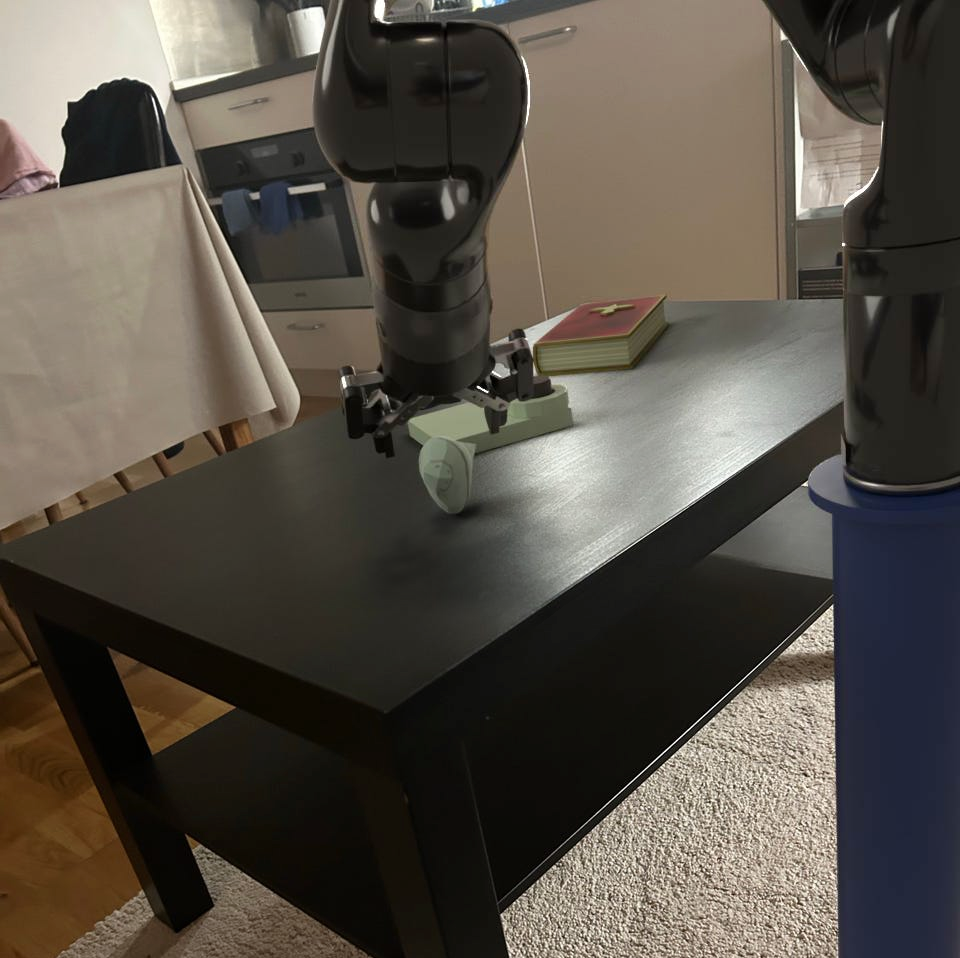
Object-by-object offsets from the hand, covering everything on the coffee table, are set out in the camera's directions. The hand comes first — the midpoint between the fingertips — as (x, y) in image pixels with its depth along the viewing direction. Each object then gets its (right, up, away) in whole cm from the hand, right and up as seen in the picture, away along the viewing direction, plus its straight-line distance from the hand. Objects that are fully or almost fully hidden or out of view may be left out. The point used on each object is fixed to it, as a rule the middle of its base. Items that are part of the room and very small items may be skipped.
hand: (439, 435), depth 81 cm
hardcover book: (+19, +20, +48) cm, 56 cm away
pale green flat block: (+4, +6, +25) cm, 26 cm away
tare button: (+9, +8, +22) cm, 25 cm away
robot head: (+1, -6, +6) cm, 8 cm away
